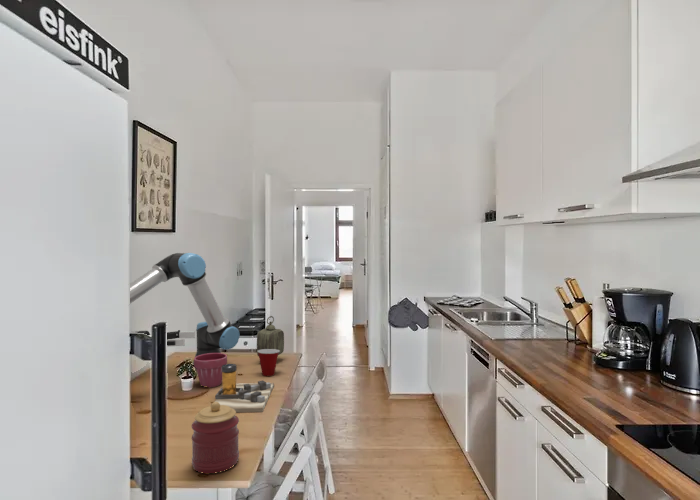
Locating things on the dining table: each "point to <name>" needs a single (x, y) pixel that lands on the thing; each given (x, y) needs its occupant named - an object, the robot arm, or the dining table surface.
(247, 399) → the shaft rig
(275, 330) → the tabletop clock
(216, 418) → the canister
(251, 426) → the dining table surface
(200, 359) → the plant pot
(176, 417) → the dining table surface
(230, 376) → the orange translucent cylinder
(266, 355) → the plastic cup
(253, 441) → the dining table surface
